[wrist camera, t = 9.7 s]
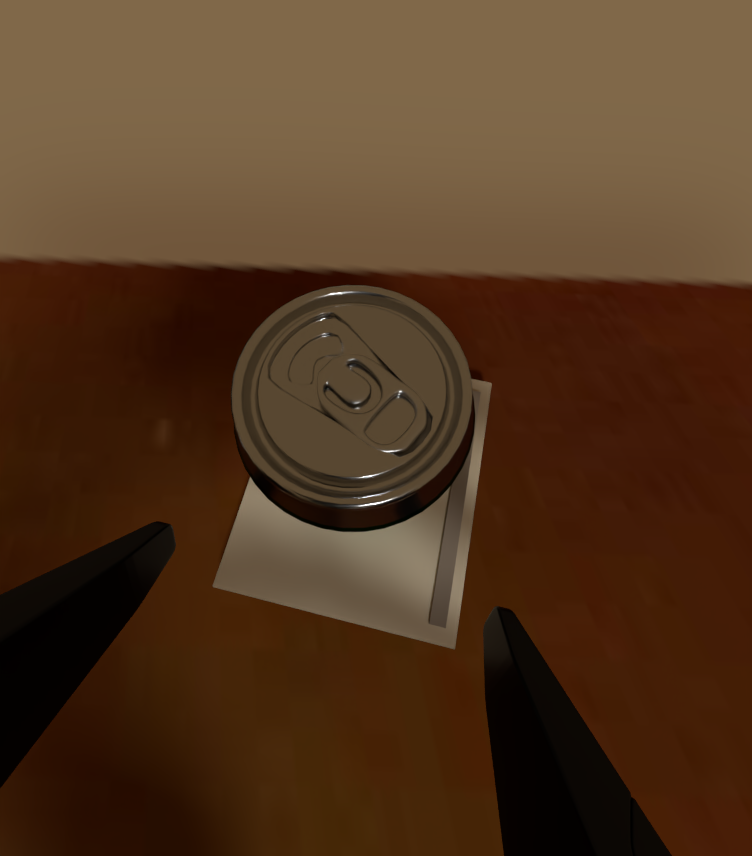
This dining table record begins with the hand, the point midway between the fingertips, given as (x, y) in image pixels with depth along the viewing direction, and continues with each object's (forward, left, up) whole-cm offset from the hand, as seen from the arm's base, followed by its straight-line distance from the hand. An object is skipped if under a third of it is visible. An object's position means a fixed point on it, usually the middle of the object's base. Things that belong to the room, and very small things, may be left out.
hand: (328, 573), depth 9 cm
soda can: (+2, -3, -8) cm, 9 cm away
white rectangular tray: (+2, -3, -9) cm, 10 cm away
